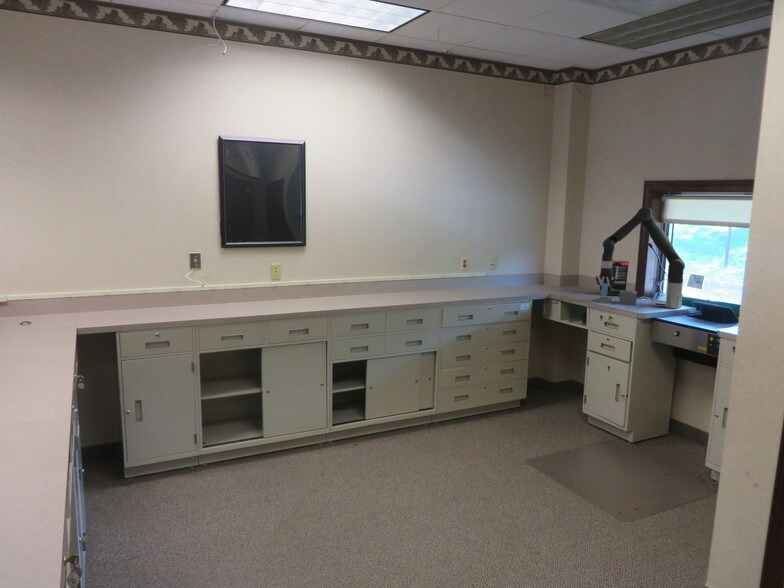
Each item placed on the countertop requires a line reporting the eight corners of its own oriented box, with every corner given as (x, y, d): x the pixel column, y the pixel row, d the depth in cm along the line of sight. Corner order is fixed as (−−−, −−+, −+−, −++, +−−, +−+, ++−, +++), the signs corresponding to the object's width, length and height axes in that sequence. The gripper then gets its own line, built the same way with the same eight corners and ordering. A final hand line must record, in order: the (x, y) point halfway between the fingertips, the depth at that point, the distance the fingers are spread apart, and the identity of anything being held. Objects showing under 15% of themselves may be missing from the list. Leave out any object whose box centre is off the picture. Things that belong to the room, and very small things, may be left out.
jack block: (635, 303, 409) (636, 291, 408) (635, 305, 399) (636, 293, 397) (595, 299, 419) (596, 288, 417) (595, 302, 409) (596, 290, 407)
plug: (607, 295, 412) (608, 283, 411) (606, 296, 409) (607, 284, 407) (601, 295, 414) (602, 283, 412) (600, 296, 410) (602, 283, 409)
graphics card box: (623, 295, 444) (626, 260, 440) (626, 296, 437) (629, 261, 433) (600, 294, 446) (603, 259, 441) (603, 295, 439) (606, 260, 435)
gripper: (617, 267, 409) (615, 291, 411) (596, 266, 414) (594, 289, 417) (617, 268, 402) (614, 292, 404) (595, 267, 407) (593, 290, 410)
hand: (604, 290), depth 411 cm, fingers closed on plug, 4 cm apart
